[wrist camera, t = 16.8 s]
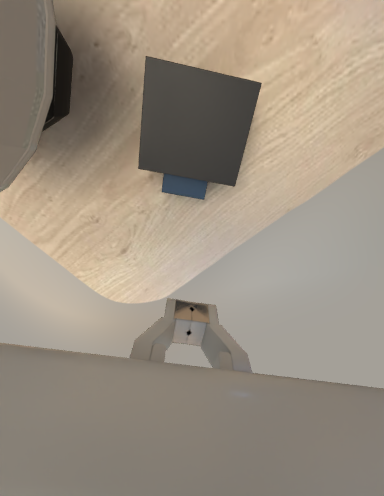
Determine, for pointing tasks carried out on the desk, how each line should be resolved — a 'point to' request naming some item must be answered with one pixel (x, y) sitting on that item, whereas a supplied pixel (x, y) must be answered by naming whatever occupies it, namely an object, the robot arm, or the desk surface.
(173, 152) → the cabinet
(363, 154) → the desk surface
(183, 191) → the box
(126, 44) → the desk surface
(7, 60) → the table lamp
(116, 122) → the desk surface
